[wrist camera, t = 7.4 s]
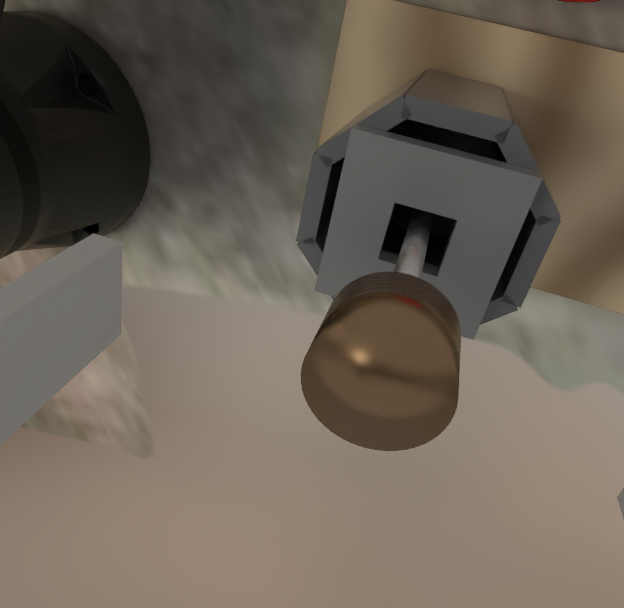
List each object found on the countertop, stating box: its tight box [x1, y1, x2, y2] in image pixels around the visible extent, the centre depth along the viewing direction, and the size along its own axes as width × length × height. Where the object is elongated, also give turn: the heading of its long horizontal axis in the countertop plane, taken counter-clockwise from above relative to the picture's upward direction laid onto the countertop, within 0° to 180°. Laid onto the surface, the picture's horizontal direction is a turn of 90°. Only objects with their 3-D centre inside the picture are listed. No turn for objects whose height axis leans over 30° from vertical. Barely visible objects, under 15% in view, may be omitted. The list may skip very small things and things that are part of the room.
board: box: [318, 0, 624, 314], centre depth 30 cm, size 22×13×1 cm, turn 78°
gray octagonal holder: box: [296, 69, 561, 339], centre depth 26 cm, size 10×12×12 cm
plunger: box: [301, 119, 498, 451], centre depth 21 cm, size 7×7×20 cm
